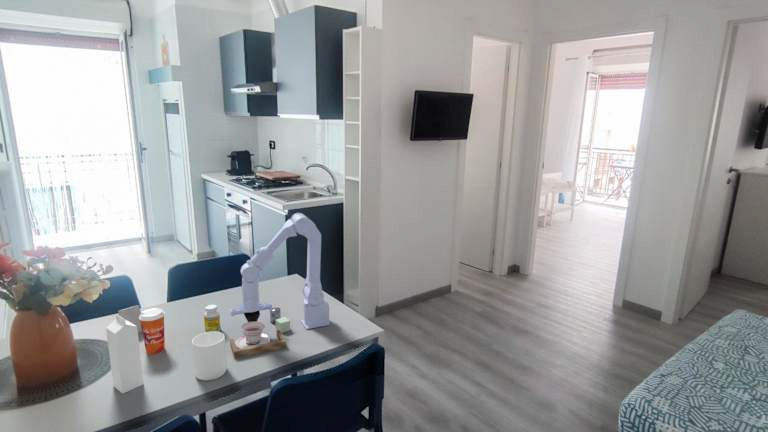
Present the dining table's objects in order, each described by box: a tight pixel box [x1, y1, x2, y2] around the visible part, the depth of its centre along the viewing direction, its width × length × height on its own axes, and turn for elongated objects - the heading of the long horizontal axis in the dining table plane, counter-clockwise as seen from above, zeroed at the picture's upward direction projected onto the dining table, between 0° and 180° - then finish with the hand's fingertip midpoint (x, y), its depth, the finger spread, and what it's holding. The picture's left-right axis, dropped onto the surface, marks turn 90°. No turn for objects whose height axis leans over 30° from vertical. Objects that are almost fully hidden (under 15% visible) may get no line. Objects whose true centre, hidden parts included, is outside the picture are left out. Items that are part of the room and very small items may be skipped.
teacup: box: [235, 321, 271, 349], centre depth 154 cm, size 12×12×6 cm
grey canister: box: [269, 307, 282, 325], centre depth 170 cm, size 4×4×5 cm
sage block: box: [275, 316, 291, 334], centre depth 164 cm, size 4×4×4 cm
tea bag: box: [117, 304, 143, 334], centre depth 158 cm, size 4×7×10 cm, turn 140°
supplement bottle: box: [203, 304, 221, 332], centre depth 161 cm, size 5×5×10 cm
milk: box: [105, 313, 144, 395], centre depth 126 cm, size 6×6×22 cm
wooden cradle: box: [229, 329, 287, 359], centre depth 151 cm, size 17×9×2 cm, turn 117°
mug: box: [191, 331, 228, 382], centre depth 135 cm, size 10×12×12 cm
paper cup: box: [139, 307, 166, 355], centre depth 146 cm, size 8×8×14 cm
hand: (252, 330), depth 161 cm, fingers closed
